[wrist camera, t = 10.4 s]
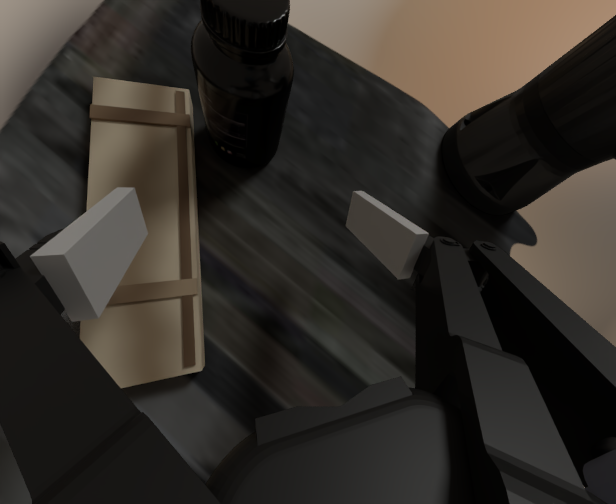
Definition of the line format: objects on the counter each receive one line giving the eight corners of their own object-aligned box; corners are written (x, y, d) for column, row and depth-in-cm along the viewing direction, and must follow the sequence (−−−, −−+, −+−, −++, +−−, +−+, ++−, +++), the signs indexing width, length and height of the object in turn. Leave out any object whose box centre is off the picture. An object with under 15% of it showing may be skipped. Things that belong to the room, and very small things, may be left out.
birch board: (192, 105, 22) (188, 87, 20) (204, 364, 18) (200, 371, 16) (105, 95, 20) (92, 73, 18) (93, 388, 15) (73, 399, 14)
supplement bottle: (233, 101, 24) (229, -82, 13) (288, 139, 25) (329, 0, 14) (192, 143, 21) (141, -35, 10) (254, 184, 22) (270, 61, 11)
